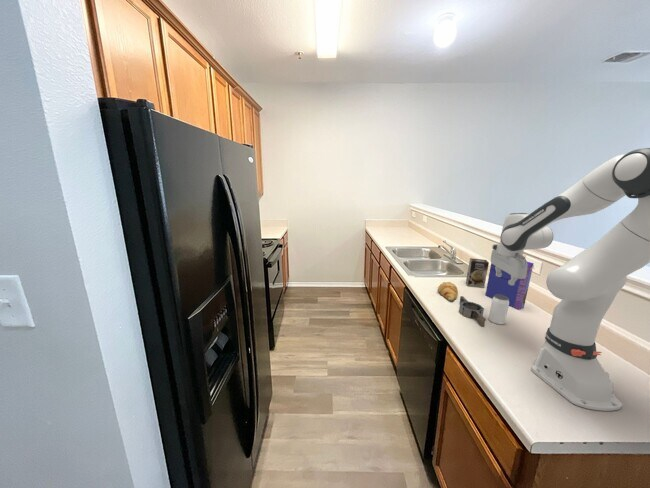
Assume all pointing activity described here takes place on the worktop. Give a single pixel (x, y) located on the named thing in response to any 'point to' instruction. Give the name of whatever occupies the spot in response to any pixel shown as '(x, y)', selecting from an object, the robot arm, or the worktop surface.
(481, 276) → the coffee box
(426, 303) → the worktop surface
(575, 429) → the worktop surface
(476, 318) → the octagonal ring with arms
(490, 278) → the cereal box
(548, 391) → the worktop surface
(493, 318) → the can
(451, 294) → the croissant
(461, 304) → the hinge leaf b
